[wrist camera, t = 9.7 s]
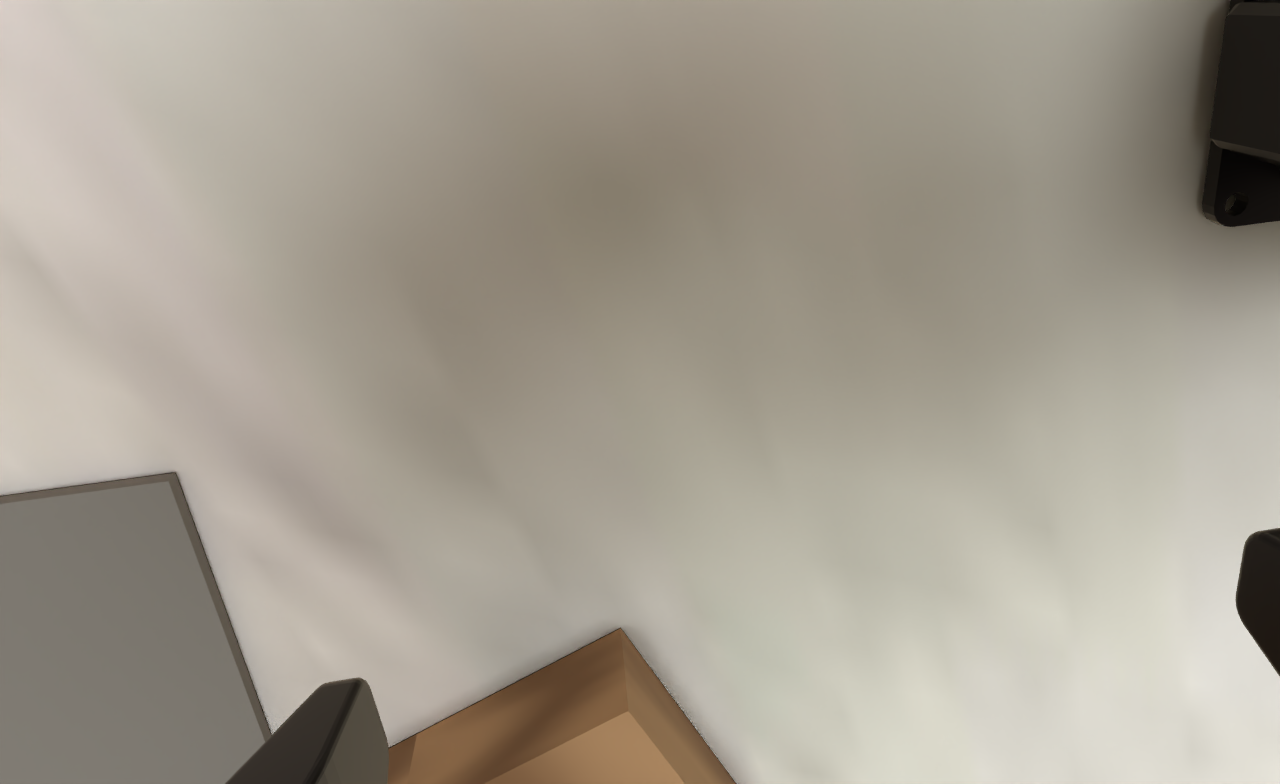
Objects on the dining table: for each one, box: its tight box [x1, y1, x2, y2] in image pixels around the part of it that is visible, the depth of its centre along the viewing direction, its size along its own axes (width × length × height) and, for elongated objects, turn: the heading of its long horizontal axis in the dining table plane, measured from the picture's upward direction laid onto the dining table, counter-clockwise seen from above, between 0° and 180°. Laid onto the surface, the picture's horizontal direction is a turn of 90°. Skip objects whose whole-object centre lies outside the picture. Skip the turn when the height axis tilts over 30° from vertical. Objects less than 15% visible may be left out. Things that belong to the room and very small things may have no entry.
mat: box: [0, 473, 271, 784], centre depth 23 cm, size 10×10×1 cm
